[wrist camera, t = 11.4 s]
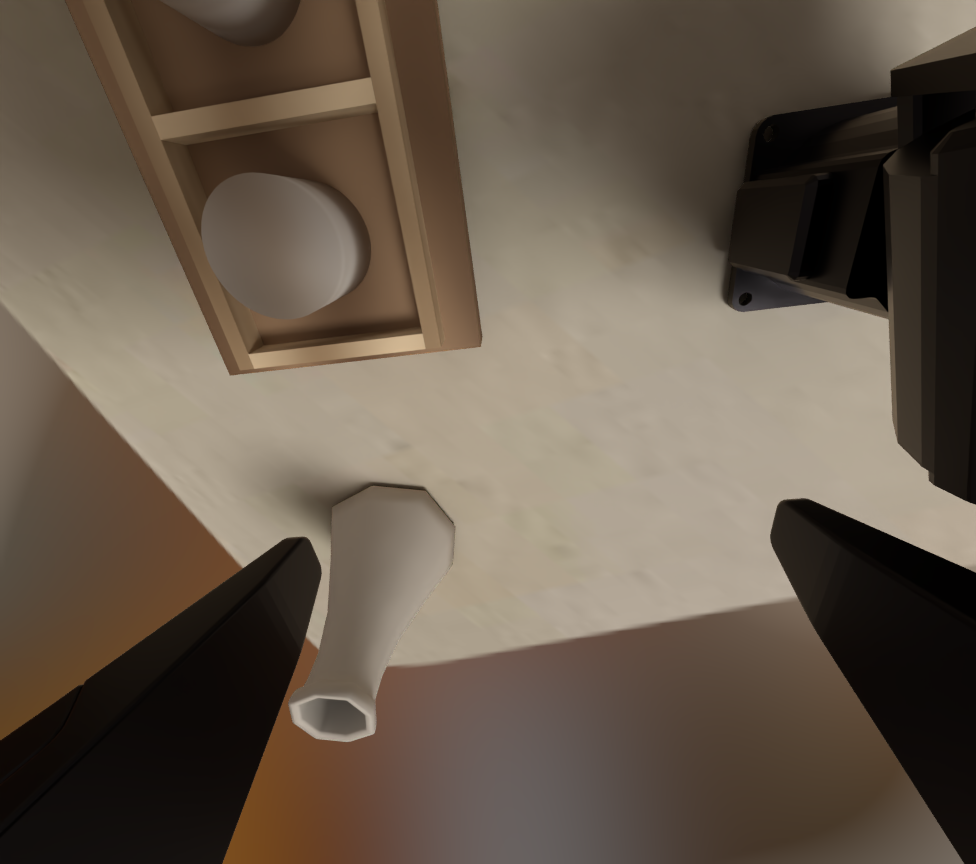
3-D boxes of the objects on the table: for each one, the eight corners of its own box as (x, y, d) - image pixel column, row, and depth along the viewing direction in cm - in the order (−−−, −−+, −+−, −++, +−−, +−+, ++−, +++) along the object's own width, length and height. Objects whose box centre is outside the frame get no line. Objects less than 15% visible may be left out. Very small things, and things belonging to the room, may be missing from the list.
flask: (312, 493, 23) (191, 670, 14) (437, 471, 22) (391, 647, 13) (360, 584, 26) (286, 774, 17) (471, 569, 25) (452, 762, 16)
